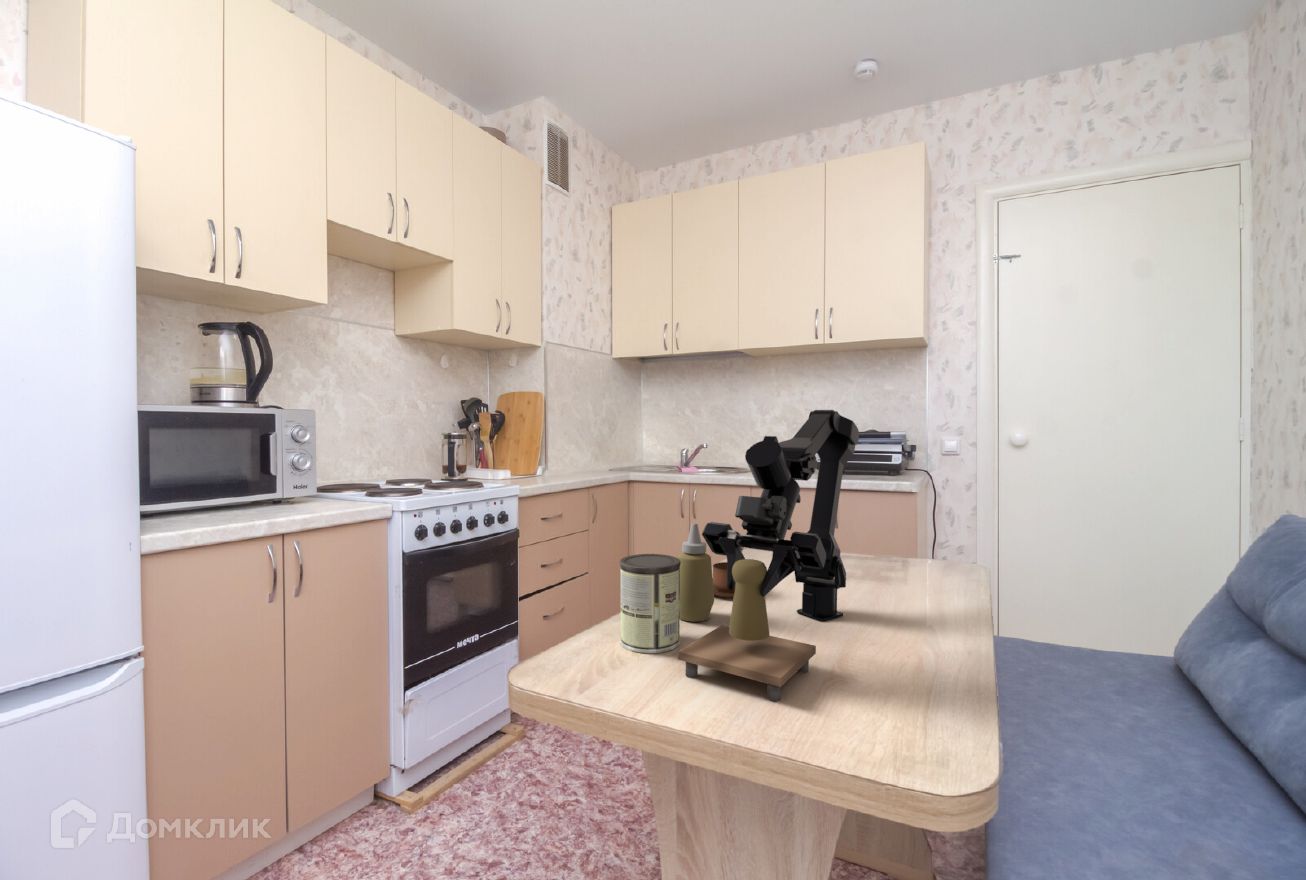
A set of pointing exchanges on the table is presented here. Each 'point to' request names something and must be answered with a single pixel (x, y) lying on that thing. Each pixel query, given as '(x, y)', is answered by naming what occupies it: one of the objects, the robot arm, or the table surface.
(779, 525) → the robot arm
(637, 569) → the coffee can
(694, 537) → the squeeze bottle
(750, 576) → the olive pepper shaker
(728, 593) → the cup and saucer
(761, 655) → the small wooden stand
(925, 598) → the table surface
